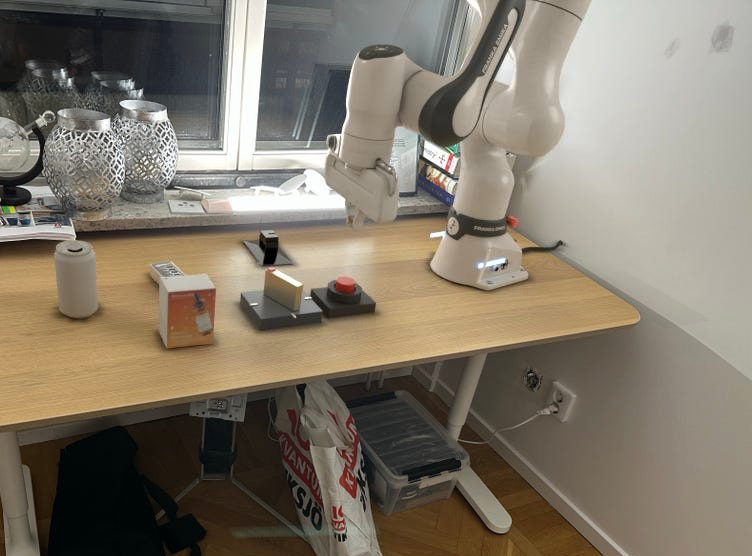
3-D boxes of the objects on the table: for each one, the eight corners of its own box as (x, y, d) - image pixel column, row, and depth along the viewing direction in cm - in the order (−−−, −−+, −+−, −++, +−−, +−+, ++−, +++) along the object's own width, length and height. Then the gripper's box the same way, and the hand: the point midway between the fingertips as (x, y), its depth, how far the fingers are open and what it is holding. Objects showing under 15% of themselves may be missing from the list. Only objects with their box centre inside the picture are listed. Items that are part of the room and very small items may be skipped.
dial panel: (296, 294, 128) (297, 282, 126) (324, 326, 119) (326, 313, 117) (237, 301, 123) (238, 288, 121) (262, 334, 114) (263, 321, 112)
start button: (348, 283, 126) (349, 275, 125) (357, 292, 124) (359, 284, 123) (331, 285, 125) (333, 277, 124) (340, 294, 122) (342, 286, 121)
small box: (166, 350, 106) (166, 292, 100) (158, 332, 110) (158, 275, 105) (214, 344, 109) (217, 287, 104) (204, 327, 113) (206, 272, 108)
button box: (354, 293, 131) (357, 275, 129) (374, 313, 125) (378, 294, 123) (309, 298, 127) (312, 280, 125) (328, 319, 121) (331, 300, 119)
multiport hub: (174, 300, 120) (174, 288, 119) (149, 274, 127) (149, 263, 126) (195, 295, 123) (196, 284, 121) (170, 271, 130) (170, 260, 128)
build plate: (293, 265, 139) (295, 245, 136) (260, 267, 136) (262, 247, 134) (272, 241, 148) (274, 221, 146) (242, 242, 145) (243, 222, 143)
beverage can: (63, 322, 109) (57, 256, 103) (56, 304, 114) (50, 240, 107) (102, 317, 112) (98, 252, 106) (93, 300, 117) (90, 237, 110)
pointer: (300, 309, 118) (303, 283, 115) (293, 311, 117) (297, 285, 114) (269, 291, 122) (272, 266, 119) (263, 293, 121) (265, 268, 118)
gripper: (414, 169, 105) (398, 249, 113) (353, 133, 120) (342, 205, 128) (381, 171, 102) (367, 252, 110) (322, 133, 117) (313, 207, 125)
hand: (353, 227), depth 119 cm, fingers closed
